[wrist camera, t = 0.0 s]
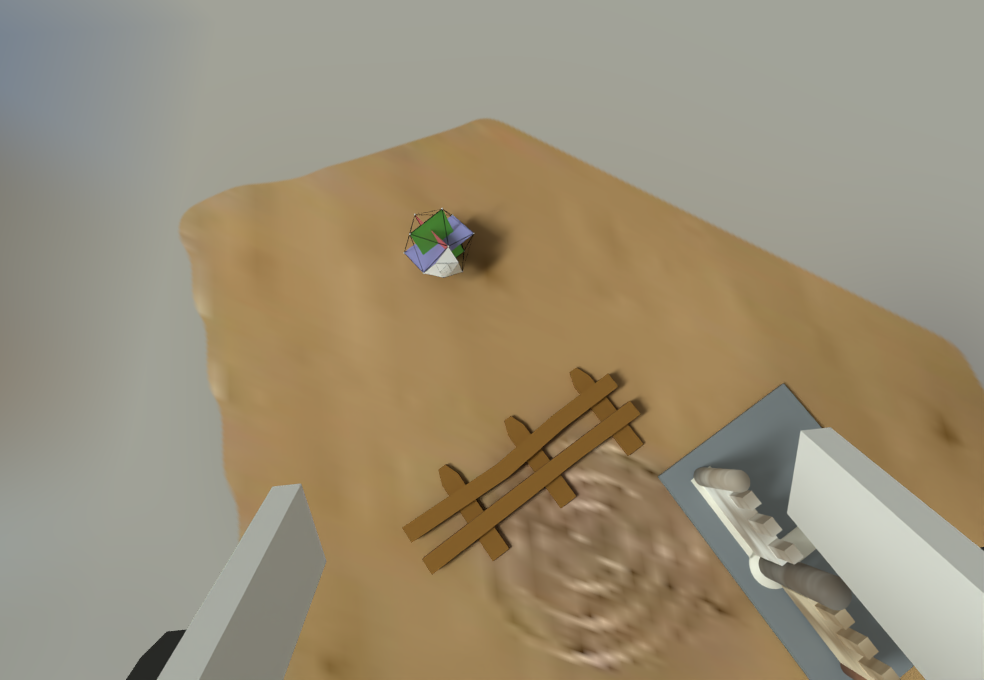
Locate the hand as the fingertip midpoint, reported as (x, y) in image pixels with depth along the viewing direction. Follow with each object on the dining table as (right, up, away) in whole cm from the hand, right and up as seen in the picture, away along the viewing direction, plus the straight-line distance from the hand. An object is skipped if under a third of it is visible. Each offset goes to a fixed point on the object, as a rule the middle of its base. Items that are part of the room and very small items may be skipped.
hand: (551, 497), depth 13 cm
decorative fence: (+2, -9, +36) cm, 37 cm away
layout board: (+28, -15, +32) cm, 45 cm away
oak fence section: (+28, -21, +30) cm, 46 cm away
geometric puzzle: (-7, +14, +41) cm, 44 cm away
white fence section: (+22, -13, +32) cm, 41 cm away
